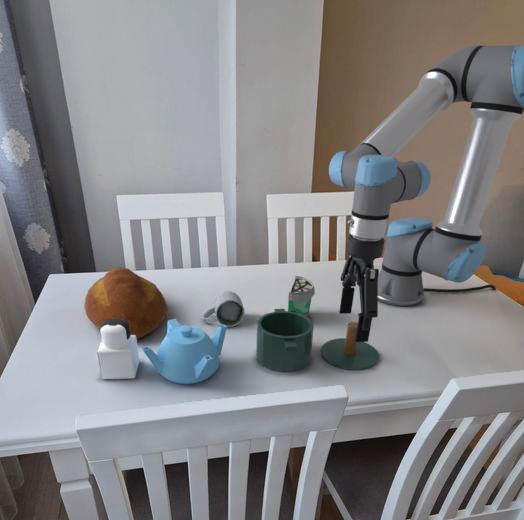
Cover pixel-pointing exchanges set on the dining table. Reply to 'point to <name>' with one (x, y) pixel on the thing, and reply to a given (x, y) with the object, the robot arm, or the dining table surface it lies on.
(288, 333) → the canister
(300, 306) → the food container
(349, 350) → the canister lid
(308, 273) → the dining table surface
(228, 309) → the ceramic mug
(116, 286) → the bread
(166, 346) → the teapot
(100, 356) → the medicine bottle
